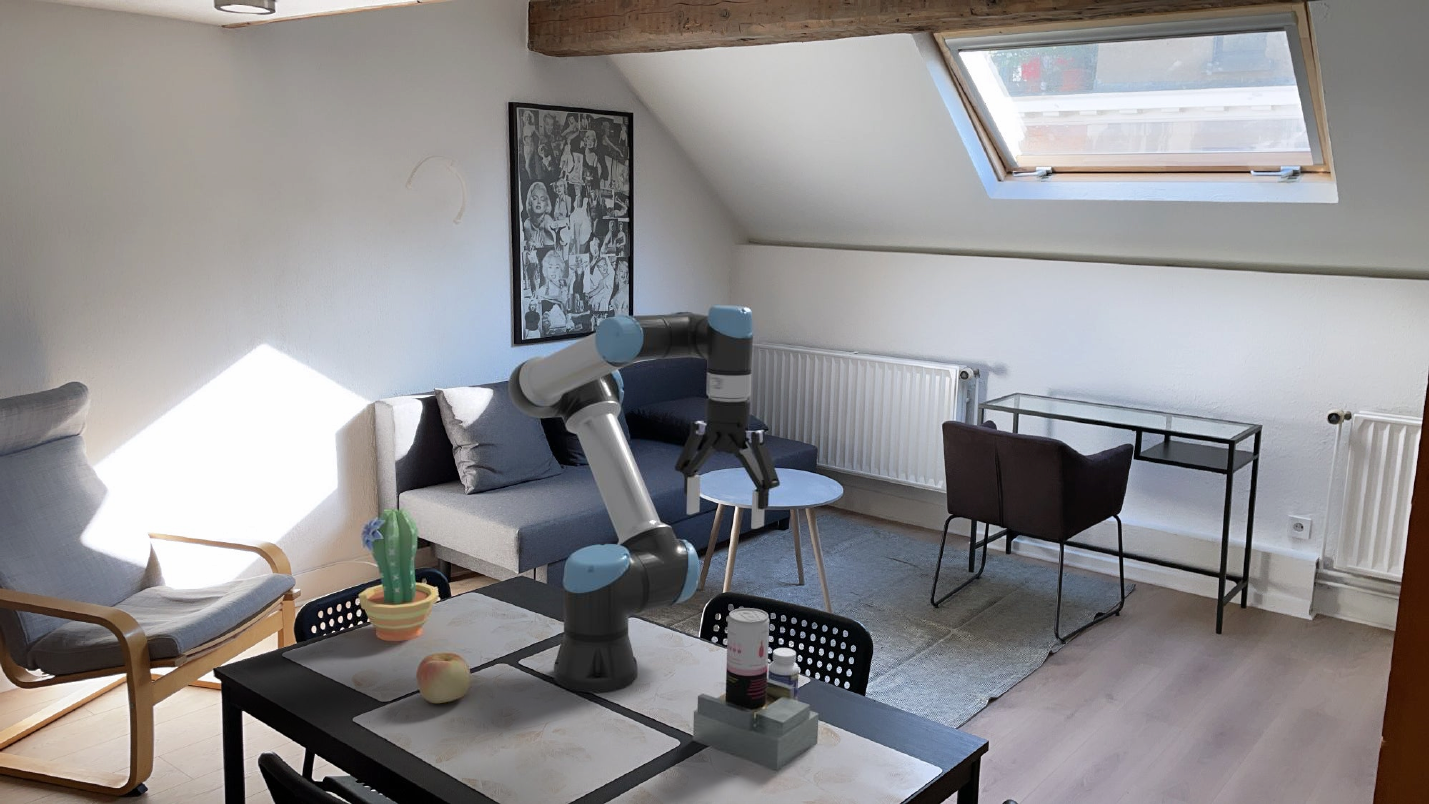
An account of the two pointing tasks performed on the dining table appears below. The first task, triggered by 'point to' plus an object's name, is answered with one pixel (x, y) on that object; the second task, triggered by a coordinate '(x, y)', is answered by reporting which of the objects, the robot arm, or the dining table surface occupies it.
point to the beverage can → (747, 658)
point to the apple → (443, 677)
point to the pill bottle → (785, 668)
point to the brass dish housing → (758, 727)
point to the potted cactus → (396, 578)
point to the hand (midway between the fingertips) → (724, 520)
